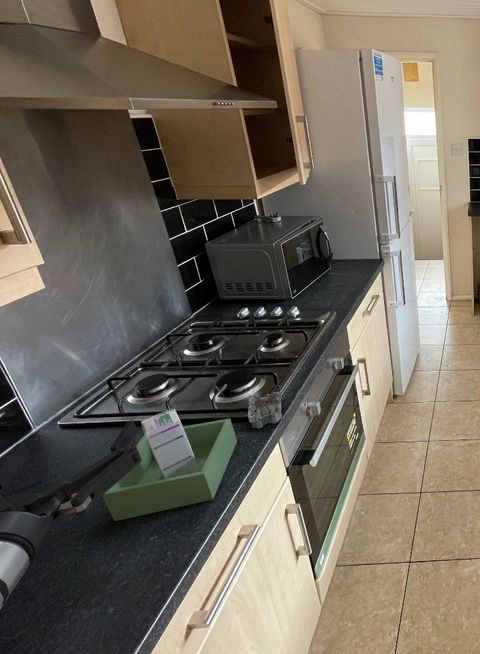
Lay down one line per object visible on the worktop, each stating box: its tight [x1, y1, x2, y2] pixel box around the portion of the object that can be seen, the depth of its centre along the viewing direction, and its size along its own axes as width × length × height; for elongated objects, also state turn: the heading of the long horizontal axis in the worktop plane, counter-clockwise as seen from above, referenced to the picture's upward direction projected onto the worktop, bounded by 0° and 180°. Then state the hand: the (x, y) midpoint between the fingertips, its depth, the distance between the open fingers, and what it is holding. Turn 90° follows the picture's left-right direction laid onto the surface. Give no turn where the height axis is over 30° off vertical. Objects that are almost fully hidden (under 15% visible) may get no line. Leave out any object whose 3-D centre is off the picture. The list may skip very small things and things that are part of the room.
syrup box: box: [140, 408, 200, 479], centre depth 87 cm, size 6×6×14 cm
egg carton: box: [247, 391, 283, 429], centre depth 108 cm, size 11×8×4 cm
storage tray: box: [101, 418, 238, 522], centre depth 89 cm, size 17×17×7 cm
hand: (80, 437), depth 67 cm, fingers open, 13 cm apart
